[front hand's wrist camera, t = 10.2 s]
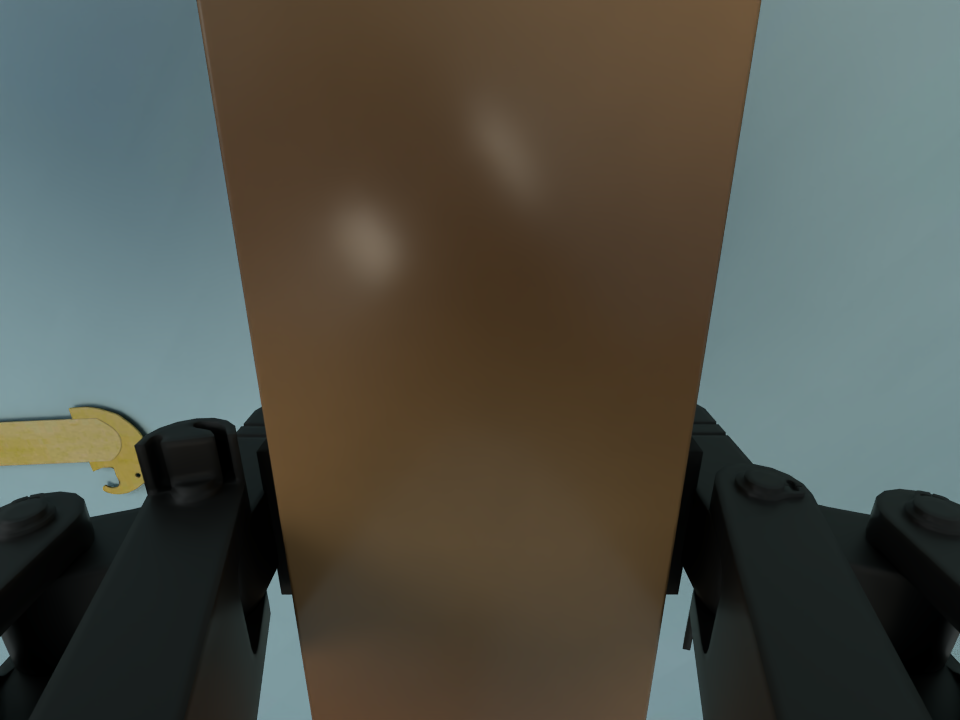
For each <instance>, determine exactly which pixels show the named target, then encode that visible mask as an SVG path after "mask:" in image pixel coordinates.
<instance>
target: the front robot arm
mask: <svg viewBox="0 0 960 720" xmlns="http://www.w3.org/2000/svg"><path fill="white" fill-rule="evenodd" d="M134 447H135V451H136V454H137V458H138V461H139V465H140V469H141V472H142V476H143V480H144V483H145V487H146V491H147V494H148V496H147V497H146V499H145V501H144V503H143V505H142V507H140V508H136V509H132V510H126V511H121V512H116V513H110V514H105V515H100V516H94V517H90V516H89V513H88V510H87V507H86V504H85V501H84V499H83V498H81V497H80V496H79V495H77V494H76V493H68V492H52V493H39V494H34V495H30V497H28V496H26V497H23V498H20V499H17V500H14V501H13V502H11V503H10V504H7V505H5V506H3V507H0V637H2V639H3V641H4V644H5V646H6V648H7V650H8V653H9V655H10V656H9V657H8V659H7V660H6V661H5V662H4V663H3V664H2V665H1V666H0V720H257V714H258V706H259V699H260V691H261V683H262V676H263V668H264V660H265V653H266V645H267V637H268V630H269V622H270V614H271V613H270V606H269V600H268V595H267V588H268V586H269V584H270V582H271V580H272V578H273V576H274V574H275V571H276V569H277V571H278V576H279V582H280V587H281V593H282V594H292V591H291V584H290V578H289V572H288V566H287V559H286V553H285V547H284V541H283V535H282V528H281V522H280V516H279V510H278V504H277V497H276V491H275V485H274V479H273V472H272V466H271V460H270V454H269V448H268V441H267V435H266V429H265V423H264V417H263V410H262V407H261V408H259V409H257V410H255V411H254V413H253V414H252V415H251V416H250V417H249V418H248V419H247V421H246V422H245V423H244V426H241V428H240V429H239V430H238V431H237V432H236V428H235V426H234V425H233V424H232V423H230V422H229V421H227V420H222V419H217V418H196V419H191V420H185V421H180V422H176V423H173V424H170V425H167V426H164V427H161V428H159V429H157V430H155V431H153V432H151V433H149V434H147V435H145V436H144V437H143V438H142V439H141V440H139V441H138V442H137V443H136V444H135V445H134ZM683 567H684V569H685V571H686V574H687V576H688V578H689V580H690V582H691V584H692V586H693V588H694V590H693V595H692V600H691V606H690V611H689V616H688V621H687V626H686V632H685V637H684V643H683V649H686V650H690V648H691V643H692V639H693V644H694V651H695V659H696V667H697V674H698V682H699V690H700V697H701V705H702V713H703V720H960V663H959V662H958V661H957V660H956V659H955V658H954V657H953V656H952V655H951V651H952V649H953V647H954V645H955V642H956V640H957V638H958V636H959V634H960V504H957V503H955V502H952V501H950V500H949V499H947V498H946V497H943V496H940V495H937V494H933V495H932V494H930V493H929V492H924V491H913V490H904V489H895V490H887V491H884V492H882V493H881V494H879V495H878V496H877V497H876V500H875V503H874V506H873V509H872V512H871V515H868V514H863V513H858V512H852V511H847V510H841V509H836V508H831V507H826V506H822V505H818V504H817V502H816V500H815V498H814V496H813V495H812V493H811V492H810V491H809V490H808V489H807V488H806V486H805V485H804V484H803V483H801V482H799V481H798V480H796V479H795V478H793V477H792V476H790V475H788V474H786V473H783V472H781V471H778V470H776V469H773V468H770V467H765V466H760V465H756V464H753V463H752V462H751V461H750V460H749V459H748V458H747V457H746V455H745V454H744V453H743V452H742V451H741V450H740V449H739V447H738V446H737V445H736V444H735V443H734V442H733V440H732V439H731V438H730V437H729V436H728V435H726V432H725V431H724V430H723V429H722V428H721V427H720V426H719V424H716V421H715V420H714V419H713V418H712V416H711V415H710V414H709V413H708V412H707V411H706V409H704V408H703V407H701V406H699V405H697V404H696V411H695V417H694V423H693V429H692V435H691V442H690V448H689V454H688V460H687V467H686V473H685V479H684V485H683V492H682V498H681V504H680V510H679V517H678V523H677V529H676V535H675V541H674V548H673V554H672V560H671V566H670V573H669V579H668V585H667V591H666V594H678V591H679V586H680V580H681V574H682V569H683Z"/></svg>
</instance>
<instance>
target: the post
mask: <svg viewBox="0 0 960 720" xmlns="http://www.w3.org/2000/svg"><path fill="white" fill-rule="evenodd" d="M760 5H761V0H197V6H198V13H199V19H200V25H201V31H202V37H203V44H204V50H205V56H206V62H207V69H208V75H209V81H210V87H211V93H212V100H213V106H214V112H215V118H216V124H217V131H218V137H219V143H220V149H221V156H222V162H223V168H224V174H225V180H226V187H227V193H228V199H229V205H230V211H231V218H232V224H233V230H234V236H235V243H236V249H237V255H238V261H239V267H240V274H241V280H242V286H243V292H244V298H245V305H246V311H247V317H248V323H249V330H250V336H251V342H252V348H253V354H254V361H255V367H256V373H257V379H258V385H259V392H260V398H261V404H262V410H263V417H264V423H265V429H266V435H267V441H268V448H269V454H270V460H271V466H272V472H273V479H274V485H275V491H276V497H277V504H278V510H279V516H280V522H281V528H282V535H283V541H284V547H285V553H286V559H287V566H288V572H289V578H290V584H291V591H292V597H293V603H294V609H295V615H296V622H297V628H298V634H299V640H300V646H301V653H302V659H303V665H304V671H305V678H306V684H307V690H308V696H309V702H310V709H311V715H312V720H646V716H647V710H648V704H649V697H650V691H651V685H652V679H653V672H654V666H655V660H656V654H657V647H658V641H659V635H660V629H661V623H662V616H663V610H664V604H665V598H666V591H667V585H668V579H669V573H670V566H671V560H672V554H673V548H674V541H675V535H676V529H677V523H678V517H679V510H680V504H681V498H682V492H683V485H684V479H685V473H686V467H687V460H688V454H689V448H690V442H691V435H692V429H693V423H694V417H695V411H696V404H697V398H698V392H699V386H700V379H701V373H702V367H703V361H704V354H705V348H706V342H707V336H708V330H709V323H710V317H711V311H712V305H713V298H714V292H715V286H716V280H717V273H718V267H719V261H720V255H721V248H722V242H723V236H724V230H725V224H726V217H727V211H728V205H729V199H730V192H731V186H732V180H733V174H734V167H735V161H736V155H737V149H738V143H739V136H740V130H741V124H742V118H743V111H744V105H745V99H746V93H747V86H748V80H749V74H750V68H751V61H752V55H753V49H754V43H755V37H756V30H757V24H758V18H759V12H760Z"/></svg>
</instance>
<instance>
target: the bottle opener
mask: <svg viewBox="0 0 960 720" xmlns="http://www.w3.org/2000/svg"><path fill="white" fill-rule="evenodd" d="M69 411H70V414H71V416H72V419H58V420H36V421H14V422H0V466H6V465H29V464H52V463H76V462H89V463H90V465H91V468H92V470H93V471H95V470H98V469H100V468H107V467H111V468H114V470H115V473H116V476H117V478H118V480H119V486H118V487H110V486H108V485H105V486H104V487H103V490H104V491H106V492H108V493H112V494H124V493H128V492H131V491H133V490H135V489H136V488H138V487H139V486H141V485H142V484H143V483H144V480H143V476H142V472H141V469H140V465H139V461H138V458H137V454H136V451H135V447H134V445H135V444H136V443H137V442H138V441H139V440H141V439H142V438H143V436H142V434H141V433H140V432H139V431H138V430H137V429H136V428H135V427H134V426H133V425H132V424H131V423H130V422H128V421H127V420H126V419H124V418H123V417H121V416H120V415H119V414H116V413H113V412H110V411H107V410H104V409H100V408H94V407H75V408H69ZM136 473H139V474H140V475H141V477H138V476H137V475H136Z"/></svg>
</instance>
